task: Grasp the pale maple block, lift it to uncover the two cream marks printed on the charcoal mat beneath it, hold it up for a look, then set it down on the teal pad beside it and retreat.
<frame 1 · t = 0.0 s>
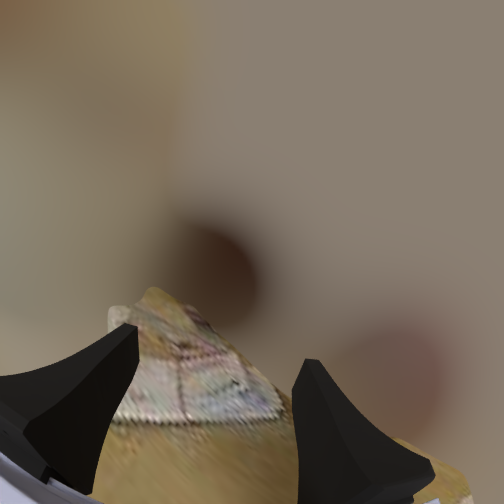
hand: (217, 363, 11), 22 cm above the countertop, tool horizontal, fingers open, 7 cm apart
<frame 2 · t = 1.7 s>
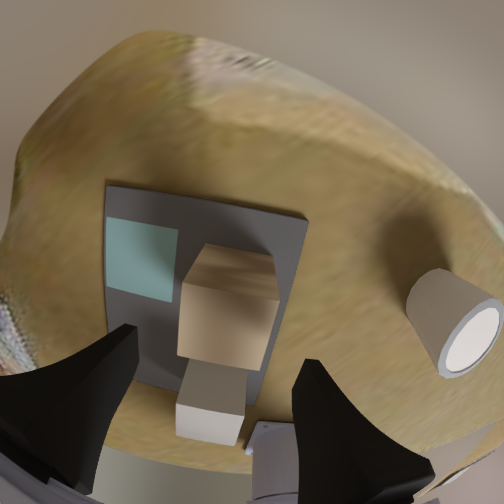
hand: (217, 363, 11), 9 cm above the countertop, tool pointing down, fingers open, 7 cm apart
white tapered cylinder: (430, 296, 20), on the countertop
grey block: (216, 372, 21), point 1 cm above the countertop, touching code mat
maple block: (233, 280, 19), point 1 cm above the countertop, touching code mat
code mat: (187, 315, 20), on the countertop
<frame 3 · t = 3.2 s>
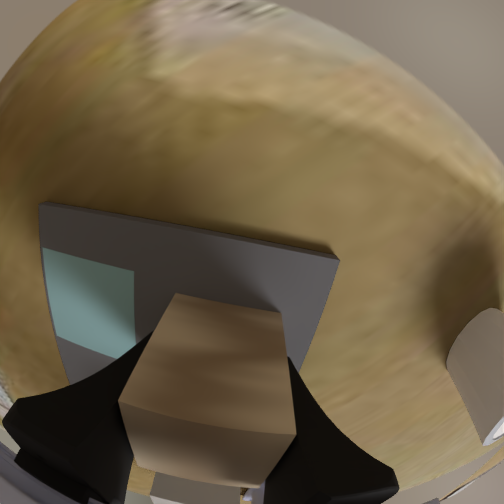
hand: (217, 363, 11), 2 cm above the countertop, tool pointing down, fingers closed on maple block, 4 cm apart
white tapered cylinder: (474, 341, 13), on the countertop
grey block: (205, 438, 15), point 1 cm above the countertop, touching code mat
maple block: (220, 344, 12), point 1 cm above the countertop, touching code mat, gripper
code mat: (161, 378, 14), on the countertop
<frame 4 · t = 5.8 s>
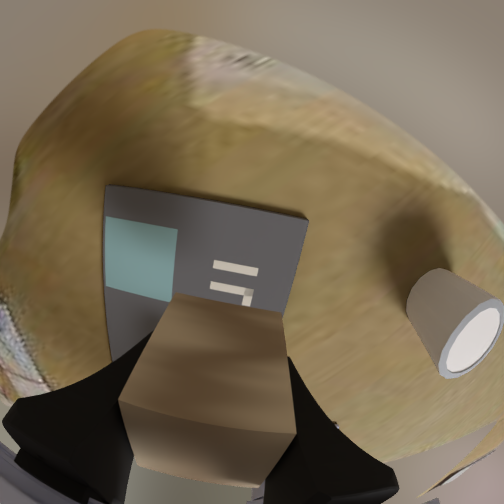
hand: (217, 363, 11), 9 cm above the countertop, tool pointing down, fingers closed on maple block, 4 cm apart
white tapered cylinder: (430, 296, 20), on the countertop
maple block: (220, 344, 12), point 8 cm above the countertop, touching gripper
code mat: (187, 315, 20), on the countertop
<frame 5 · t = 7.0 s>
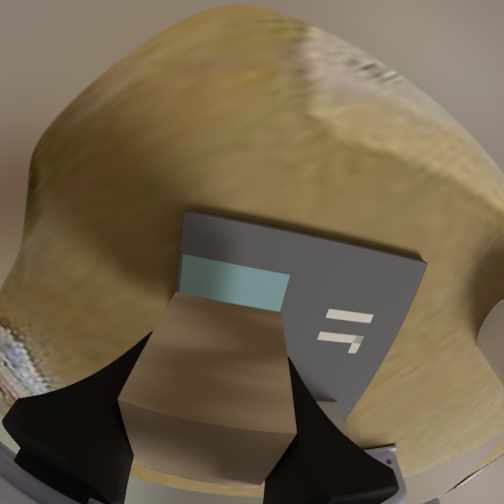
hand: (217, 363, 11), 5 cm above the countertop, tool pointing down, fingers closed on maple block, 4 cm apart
white tapered cylinder: (495, 323, 16), on the countertop
grey block: (300, 417, 18), point 1 cm above the countertop, touching code mat
maple block: (220, 343, 12), point 4 cm above the countertop, touching gripper
code mat: (279, 365, 17), on the countertop
when the fingers open (3 cm above the countertop, at t = 8.2 s): maple block drops 1 cm, resting on code mat.
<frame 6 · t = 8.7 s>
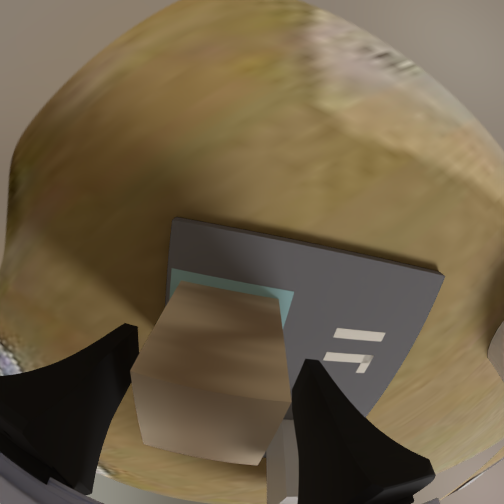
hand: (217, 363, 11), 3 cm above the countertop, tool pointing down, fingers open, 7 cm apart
grey block: (303, 436, 16), point 1 cm above the countertop, touching code mat
maple block: (222, 329, 13), point 1 cm above the countertop, touching code mat
code mat: (281, 386, 15), on the countertop
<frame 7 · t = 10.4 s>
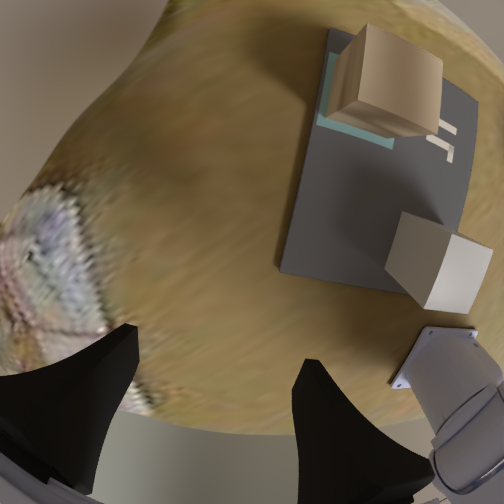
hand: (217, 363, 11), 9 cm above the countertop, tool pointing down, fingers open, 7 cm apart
grey block: (416, 246, 18), point 1 cm above the countertop, touching code mat
maple block: (362, 98, 15), point 1 cm above the countertop, touching code mat
code mat: (398, 170, 17), on the countertop
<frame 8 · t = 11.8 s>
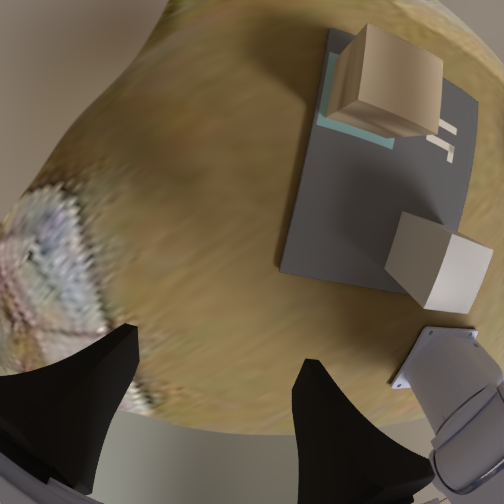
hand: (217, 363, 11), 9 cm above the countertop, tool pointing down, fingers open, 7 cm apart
grey block: (416, 246, 18), point 1 cm above the countertop, touching code mat
maple block: (362, 98, 15), point 1 cm above the countertop, touching code mat
code mat: (398, 170, 17), on the countertop
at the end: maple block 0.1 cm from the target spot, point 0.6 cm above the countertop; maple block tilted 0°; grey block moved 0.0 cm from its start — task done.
